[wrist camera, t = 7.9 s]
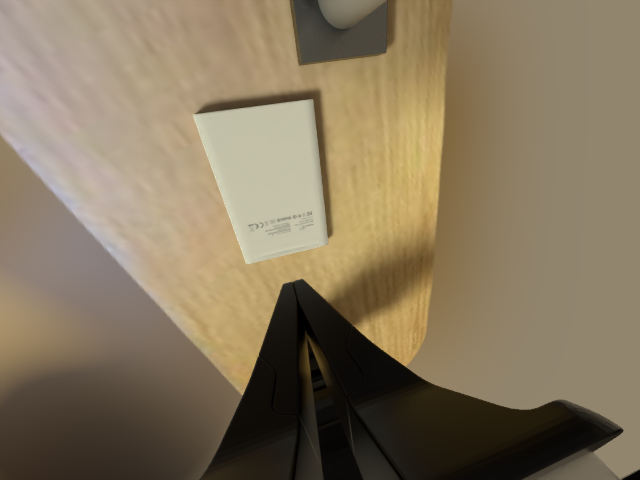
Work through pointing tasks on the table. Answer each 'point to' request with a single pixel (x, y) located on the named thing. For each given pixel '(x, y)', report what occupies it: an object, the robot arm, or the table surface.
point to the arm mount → (336, 34)
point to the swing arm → (347, 11)
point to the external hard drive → (268, 176)
